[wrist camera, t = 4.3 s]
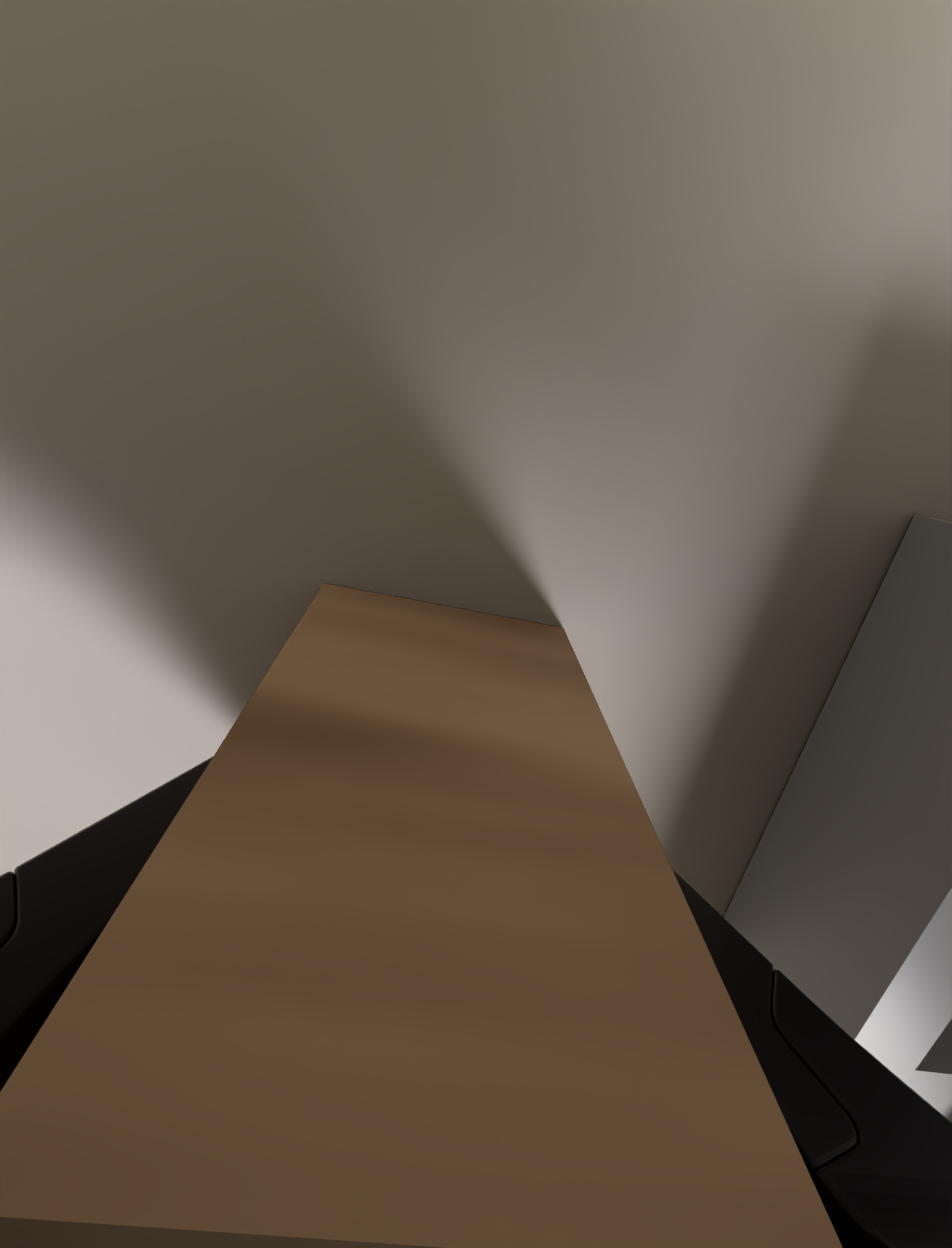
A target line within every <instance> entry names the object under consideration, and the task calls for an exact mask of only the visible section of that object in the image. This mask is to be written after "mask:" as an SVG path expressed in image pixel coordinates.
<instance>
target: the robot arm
mask: <svg viewBox="0 0 952 1248" xmlns="http://www.w3.org/2000/svg"><path fill="white" fill-rule="evenodd" d="M213 757H214V756H213ZM213 757H211V758H210V759H208V760H206V761H204V762H202V763H201V764H199V765H197V766H195V767H194V768H192V769H190V770H188V771H186V772H185V773H183V774H181V775H179V776H178V777H176V778H174V779H172V780H170V781H169V782H167V783H165V784H163V785H162V786H160V787H158V788H156V789H155V790H153V791H151V792H149V793H147V794H146V795H144V796H142V797H140V798H139V799H137V800H135V801H133V802H131V803H130V804H128V805H126V806H124V807H123V808H121V809H119V810H117V811H115V812H114V813H112V814H110V815H108V816H107V817H105V818H103V819H101V820H99V821H98V822H96V823H94V824H92V825H91V826H89V827H87V828H85V829H83V830H82V831H80V832H78V833H76V834H75V835H73V836H71V837H69V838H67V839H66V840H64V841H62V842H60V843H59V844H57V845H55V846H53V847H51V848H50V849H48V850H46V851H44V852H43V853H41V854H39V855H37V856H35V857H34V858H32V859H30V860H28V861H27V862H25V863H23V864H21V865H20V866H18V867H16V869H15V872H14V873H13V872H7V873H5V874H3V875H1V876H0V1092H1V1090H2V1089H3V1087H4V1086H5V1084H6V1082H7V1081H8V1079H9V1078H10V1076H11V1075H12V1073H13V1071H14V1070H15V1068H16V1067H17V1065H18V1063H19V1062H20V1060H21V1059H22V1057H23V1056H24V1054H25V1052H26V1051H27V1049H28V1048H29V1046H30V1045H31V1043H32V1041H33V1040H34V1038H35V1037H36V1035H37V1034H38V1032H39V1030H40V1029H41V1027H42V1026H43V1024H44V1023H45V1021H46V1019H47V1018H48V1016H49V1015H50V1013H51V1012H52V1010H53V1008H54V1007H55V1005H56V1004H57V1002H58V1001H59V999H60V997H61V996H62V994H63V993H64V991H65V990H66V988H67V986H68V985H69V983H70V982H71V980H72V978H73V977H74V975H75V974H76V972H77V971H78V969H79V967H80V966H81V964H82V963H83V961H84V960H85V958H86V956H87V955H88V953H89V952H90V950H91V949H92V947H93V945H94V944H95V942H96V941H97V939H98V938H99V936H100V934H101V933H102V931H103V930H104V928H105V927H106V925H107V923H108V922H109V920H110V919H111V917H112V916H113V914H114V912H115V911H116V909H117V908H118V906H119V905H120V903H121V901H122V900H123V898H124V897H125V895H126V893H127V892H128V890H129V889H130V887H131V886H132V884H133V882H134V881H135V879H136V878H137V876H138V875H139V873H140V871H141V870H142V868H143V867H144V865H145V864H146V862H147V860H148V859H149V857H150V856H151V854H152V853H153V851H154V849H155V848H156V846H157V845H158V843H159V842H160V840H161V838H162V837H163V835H164V834H165V832H166V831H167V829H168V827H169V826H170V824H171V823H172V821H173V820H174V818H175V816H176V815H177V813H178V812H179V810H180V808H181V807H182V805H183V804H184V802H185V801H186V799H187V797H188V796H189V794H190V793H191V791H192V790H193V788H194V786H195V785H196V783H197V782H198V780H199V779H200V777H201V775H202V774H203V772H204V771H205V769H206V768H207V766H208V764H209V763H210V761H211V760H212V758H213ZM672 870H673V869H672ZM673 872H674V875H675V877H676V879H677V881H678V884H679V886H680V888H681V890H682V892H683V895H684V897H685V899H686V901H687V904H688V906H689V908H690V910H691V912H692V915H693V917H694V919H695V921H696V923H697V926H698V928H699V930H700V932H701V935H702V937H703V939H704V941H705V943H706V946H707V948H708V950H709V952H710V955H711V957H712V959H713V961H714V963H715V966H716V968H717V970H718V972H719V975H720V977H721V979H722V981H723V983H724V986H725V988H726V990H727V992H728V994H729V997H730V999H731V1001H732V1003H733V1006H734V1008H735V1010H736V1012H737V1014H738V1017H739V1019H740V1021H741V1023H742V1026H743V1028H744V1030H745V1032H746V1034H747V1037H748V1039H749V1041H750V1043H751V1045H752V1048H753V1050H754V1052H755V1054H756V1057H757V1059H758V1061H759V1063H760V1065H761V1068H762V1070H763V1072H764V1074H765V1077H766V1079H767V1081H768V1083H769V1085H770V1088H771V1090H772V1092H773V1094H774V1097H775V1099H776V1101H777V1103H778V1105H779V1108H780V1110H781V1112H782V1114H783V1116H784V1119H785V1121H786V1123H787V1125H788V1128H789V1130H790V1132H791V1134H792V1136H793V1139H794V1141H795V1143H796V1145H797V1148H798V1150H799V1152H800V1154H801V1156H802V1159H803V1161H804V1163H805V1165H806V1168H807V1170H808V1172H809V1174H810V1176H811V1179H812V1181H813V1183H814V1185H815V1187H816V1190H817V1192H818V1194H819V1196H820V1199H821V1201H822V1203H823V1205H824V1207H825V1210H826V1212H827V1214H828V1216H829V1219H830V1221H831V1223H832V1225H833V1227H834V1230H835V1232H836V1234H837V1236H838V1238H839V1241H840V1243H841V1245H842V1247H843V1248H952V1122H950V1121H949V1120H948V1119H947V1118H946V1117H944V1116H943V1115H942V1114H941V1113H940V1112H939V1111H937V1110H936V1109H935V1108H934V1107H933V1106H931V1105H930V1104H929V1103H928V1102H927V1101H925V1100H924V1099H923V1098H922V1097H921V1096H920V1095H918V1094H917V1093H916V1092H915V1091H914V1090H912V1089H911V1088H910V1087H909V1086H908V1085H907V1084H905V1083H904V1082H903V1081H902V1080H901V1079H899V1078H898V1077H897V1076H896V1075H895V1074H894V1073H892V1072H891V1071H890V1070H889V1069H888V1068H887V1067H885V1066H884V1065H883V1064H882V1063H881V1062H880V1061H879V1060H877V1059H876V1058H875V1057H874V1056H873V1055H872V1054H870V1053H869V1052H868V1051H867V1050H866V1049H865V1048H863V1047H862V1046H861V1045H860V1044H859V1043H858V1042H857V1041H855V1040H854V1039H853V1038H852V1037H851V1036H850V1035H848V1034H847V1033H846V1032H845V1031H844V1030H843V1029H842V1028H841V1027H840V1026H839V1025H837V1024H836V1023H835V1022H834V1021H833V1020H832V1019H831V1018H830V1017H829V1016H828V1015H827V1014H825V1013H824V1012H823V1011H822V1010H821V1009H820V1008H819V1007H818V1006H817V1005H816V1004H815V1003H813V1002H812V1001H811V1000H810V999H809V998H808V997H807V996H806V995H805V994H804V993H803V992H802V991H801V990H800V989H798V988H797V987H796V986H795V985H794V984H793V983H792V982H791V981H790V980H789V979H788V978H787V977H786V976H785V975H784V974H783V973H782V972H781V971H779V970H777V969H775V970H773V964H772V963H771V962H770V961H769V960H768V959H767V958H766V957H765V956H763V955H762V954H761V953H760V952H759V951H758V950H757V949H756V948H755V947H754V946H753V945H752V944H751V943H750V942H749V941H748V940H747V939H746V938H744V937H743V936H742V935H741V934H740V933H739V932H738V931H737V930H736V929H735V928H734V927H733V926H732V925H731V924H730V923H729V922H728V921H727V920H726V919H724V918H723V917H722V916H721V915H720V914H719V913H718V912H717V911H716V910H715V909H714V908H713V907H712V906H711V905H710V904H709V903H708V902H707V901H705V900H704V899H703V898H702V897H701V896H700V895H699V894H698V893H697V892H696V891H695V890H694V889H693V888H692V887H691V886H690V885H689V884H688V883H686V882H685V881H684V880H683V879H682V878H681V877H680V876H679V875H678V874H677V873H676V872H675V871H674V870H673ZM14 874H15V875H14Z"/></svg>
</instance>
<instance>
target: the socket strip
mask: <svg viewBox="0 0 952 1248" xmlns="http://www.w3.org/2000/svg"><path fill="white" fill-rule="evenodd" d="M724 919H726V920H727V921H728V922H729V923H730V924H731V925H732V926H733V927H734V928H735V929H736V930H737V931H738V932H739V933H740V934H741V935H742V936H743V937H744V938H746V939H747V940H748V941H749V942H750V943H751V944H752V945H753V946H754V947H755V948H756V949H757V950H758V951H759V952H760V953H761V954H762V955H763V956H765V957H766V958H767V959H768V960H769V961H770V962H771V963H772V964H773V970H775V969H777V970H779V971H781V972H782V973H783V974H784V975H785V976H786V977H787V978H788V979H789V980H790V981H791V982H792V983H793V984H794V985H795V986H796V987H797V988H798V989H800V990H801V991H802V992H803V993H804V994H805V995H806V996H807V997H808V998H809V999H810V1000H811V1001H812V1002H813V1003H815V1004H816V1005H817V1006H818V1007H819V1008H820V1009H821V1010H822V1011H823V1012H824V1013H825V1014H827V1015H828V1016H829V1017H830V1018H831V1019H832V1020H833V1021H834V1022H835V1023H836V1024H837V1025H839V1026H840V1027H841V1028H842V1029H843V1030H844V1031H845V1032H846V1033H847V1034H848V1035H850V1036H851V1037H852V1038H853V1039H854V1040H855V1041H857V1042H858V1043H859V1044H860V1045H861V1046H862V1047H863V1048H865V1049H866V1050H867V1051H868V1052H869V1053H870V1054H872V1055H873V1056H874V1057H875V1058H876V1059H877V1060H879V1061H880V1062H881V1063H882V1064H883V1065H884V1066H885V1067H887V1068H888V1069H889V1070H890V1071H891V1072H892V1073H894V1074H895V1075H896V1076H897V1077H898V1078H899V1079H901V1080H902V1081H903V1082H904V1083H905V1084H907V1085H908V1086H909V1087H910V1088H911V1089H912V1090H914V1091H915V1092H916V1093H917V1094H918V1095H920V1096H921V1097H922V1098H923V1099H924V1100H925V1101H927V1102H928V1103H929V1104H930V1105H931V1106H933V1107H934V1108H935V1109H936V1110H937V1111H939V1112H940V1113H941V1114H942V1115H943V1116H944V1117H946V1118H947V1119H948V1120H949V1121H950V1122H952V521H947V520H943V519H938V518H934V517H929V516H925V515H920V514H916V513H915V515H914V517H913V519H912V521H911V523H910V525H909V527H908V529H907V532H906V534H905V536H904V538H903V540H902V542H901V544H900V546H899V548H898V551H897V553H896V555H895V557H894V559H893V561H892V563H891V565H890V567H889V570H888V572H887V574H886V576H885V578H884V580H883V582H882V584H881V586H880V588H879V591H878V593H877V595H876V597H875V599H874V601H873V603H872V605H871V607H870V610H869V612H868V614H867V616H866V618H865V620H864V622H863V624H862V626H861V629H860V631H859V633H858V635H857V637H856V639H855V641H854V643H853V645H852V648H851V650H850V652H849V654H848V656H847V658H846V660H845V662H844V664H843V667H842V669H841V671H840V673H839V675H838V677H837V679H836V681H835V683H834V686H833V688H832V690H831V692H830V694H829V696H828V698H827V700H826V702H825V705H824V707H823V709H822V711H821V713H820V715H819V717H818V719H817V721H816V724H815V726H814V728H813V730H812V732H811V734H810V736H809V738H808V740H807V743H806V745H805V747H804V749H803V751H802V753H801V755H800V757H799V759H798V761H797V764H796V766H795V768H794V770H793V772H792V774H791V776H790V778H789V780H788V783H787V785H786V787H785V789H784V791H783V793H782V795H781V797H780V799H779V802H778V804H777V806H776V808H775V810H774V812H773V814H772V816H771V818H770V821H769V823H768V825H767V827H766V829H765V831H764V833H763V835H762V837H761V840H760V842H759V844H758V846H757V848H756V850H755V852H754V854H753V856H752V859H751V861H750V863H749V865H748V867H747V869H746V871H745V873H744V875H743V878H742V880H741V882H740V884H739V886H738V888H737V890H736V892H735V894H734V897H733V899H732V901H731V903H730V905H729V907H728V909H727V911H726V913H725V916H724Z"/></svg>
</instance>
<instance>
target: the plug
mask: <svg viewBox="0 0 952 1248" xmlns="http://www.w3.org/2000/svg"><path fill="white" fill-rule="evenodd" d="M0 1248H843V1247H842V1245H841V1243H840V1241H839V1238H838V1236H837V1234H836V1232H835V1230H834V1227H833V1225H832V1223H831V1221H830V1219H829V1216H828V1214H827V1212H826V1210H825V1207H824V1205H823V1203H822V1201H821V1199H820V1196H819V1194H818V1192H817V1190H816V1187H815V1185H814V1183H813V1181H812V1179H811V1176H810V1174H809V1172H808V1170H807V1168H806V1165H805V1163H804V1161H803V1159H802V1156H801V1154H800V1152H799V1150H798V1148H797V1145H796V1143H795V1141H794V1139H793V1136H792V1134H791V1132H790V1130H789V1128H788V1125H787V1123H786V1121H785V1119H784V1116H783V1114H782V1112H781V1110H780V1108H779V1105H778V1103H777V1101H776V1099H775V1097H774V1094H773V1092H772V1090H771V1088H770V1085H769V1083H768V1081H767V1079H766V1077H765V1074H764V1072H763V1070H762V1068H761V1065H760V1063H759V1061H758V1059H757V1057H756V1054H755V1052H754V1050H753V1048H752V1045H751V1043H750V1041H749V1039H748V1037H747V1034H746V1032H745V1030H744V1028H743V1026H742V1023H741V1021H740V1019H739V1017H738V1014H737V1012H736V1010H735V1008H734V1006H733V1003H732V1001H731V999H730V997H729V994H728V992H727V990H726V988H725V986H724V983H723V981H722V979H721V977H720V975H719V972H718V970H717V968H716V966H715V963H714V961H713V959H712V957H711V955H710V952H709V950H708V948H707V946H706V943H705V941H704V939H703V937H702V935H701V932H700V930H699V928H698V926H697V923H696V921H695V919H694V917H693V915H692V912H691V910H690V908H689V906H688V904H687V901H686V899H685V897H684V895H683V892H682V890H681V888H680V886H679V884H678V881H677V879H676V877H675V875H674V872H673V870H672V868H671V866H670V864H669V861H668V859H667V857H666V855H665V852H664V850H663V848H662V846H661V844H660V841H659V839H658V837H657V835H656V833H655V830H654V828H653V826H652V824H651V821H650V819H649V817H648V815H647V813H646V810H645V808H644V806H643V804H642V801H641V799H640V797H639V795H638V793H637V790H636V788H635V786H634V784H633V782H632V779H631V777H630V775H629V773H628V770H627V768H626V766H625V764H624V762H623V759H622V757H621V755H620V753H619V750H618V748H617V746H616V744H615V742H614V739H613V737H612V735H611V733H610V730H609V728H608V726H607V724H606V722H605V719H604V717H603V715H602V713H601V711H600V708H599V706H598V704H597V702H596V699H595V697H594V695H593V693H592V691H591V688H590V686H589V684H588V682H587V679H586V677H585V675H584V673H583V671H582V668H581V666H580V664H579V662H578V659H577V657H576V655H575V653H574V651H573V648H572V646H571V644H570V642H569V640H568V637H567V635H566V633H565V631H564V628H561V627H556V626H550V625H545V624H540V623H534V622H529V621H524V620H518V619H513V618H507V617H502V616H497V615H491V614H486V613H481V612H475V611H470V610H464V609H459V608H454V607H448V606H443V605H438V604H432V603H427V602H421V601H416V600H411V599H405V598H400V597H395V596H389V595H384V594H378V593H373V592H368V591H362V590H357V589H352V588H346V587H341V586H335V585H330V584H325V583H323V585H322V587H321V588H320V590H319V591H318V593H317V594H316V596H315V598H314V599H313V601H312V602H311V604H310V605H309V607H308V609H307V610H306V612H305V613H304V615H303V616H302V618H301V620H300V621H299V623H298V624H297V626H296V627H295V629H294V631H293V632H292V634H291V635H290V637H289V638H288V640H287V642H286V643H285V645H284V646H283V648H282V650H281V651H280V653H279V654H278V656H277V657H276V659H275V661H274V662H273V664H272V665H271V667H270V668H269V670H268V672H267V673H266V675H265V676H264V678H263V679H262V681H261V683H260V684H259V686H258V687H257V689H256V690H255V692H254V694H253V695H252V697H251V698H250V700H249V701H248V703H247V705H246V706H245V708H244V709H243V711H242V712H241V714H240V716H239V717H238V719H237V720H236V722H235V723H234V725H233V727H232V728H231V730H230V731H229V733H228V735H227V736H226V738H225V739H224V741H223V742H222V744H221V746H220V747H219V749H218V750H217V752H216V753H215V755H214V757H213V758H212V760H211V761H210V763H209V764H208V766H207V768H206V769H205V771H204V772H203V774H202V775H201V777H200V779H199V780H198V782H197V783H196V785H195V786H194V788H193V790H192V791H191V793H190V794H189V796H188V797H187V799H186V801H185V802H184V804H183V805H182V807H181V808H180V810H179V812H178V813H177V815H176V816H175V818H174V820H173V821H172V823H171V824H170V826H169V827H168V829H167V831H166V832H165V834H164V835H163V837H162V838H161V840H160V842H159V843H158V845H157V846H156V848H155V849H154V851H153V853H152V854H151V856H150V857H149V859H148V860H147V862H146V864H145V865H144V867H143V868H142V870H141V871H140V873H139V875H138V876H137V878H136V879H135V881H134V882H133V884H132V886H131V887H130V889H129V890H128V892H127V893H126V895H125V897H124V898H123V900H122V901H121V903H120V905H119V906H118V908H117V909H116V911H115V912H114V914H113V916H112V917H111V919H110V920H109V922H108V923H107V925H106V927H105V928H104V930H103V931H102V933H101V934H100V936H99V938H98V939H97V941H96V942H95V944H94V945H93V947H92V949H91V950H90V952H89V953H88V955H87V956H86V958H85V960H84V961H83V963H82V964H81V966H80V967H79V969H78V971H77V972H76V974H75V975H74V977H73V978H72V980H71V982H70V983H69V985H68V986H67V988H66V990H65V991H64V993H63V994H62V996H61V997H60V999H59V1001H58V1002H57V1004H56V1005H55V1007H54V1008H53V1010H52V1012H51V1013H50V1015H49V1016H48V1018H47V1019H46V1021H45V1023H44V1024H43V1026H42V1027H41V1029H40V1030H39V1032H38V1034H37V1035H36V1037H35V1038H34V1040H33V1041H32V1043H31V1045H30V1046H29V1048H28V1049H27V1051H26V1052H25V1054H24V1056H23V1057H22V1059H21V1060H20V1062H19V1063H18V1065H17V1067H16V1068H15V1070H14V1071H13V1073H12V1075H11V1076H10V1078H9V1079H8V1081H7V1082H6V1084H5V1086H4V1087H3V1089H2V1090H1V1092H0Z"/></svg>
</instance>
